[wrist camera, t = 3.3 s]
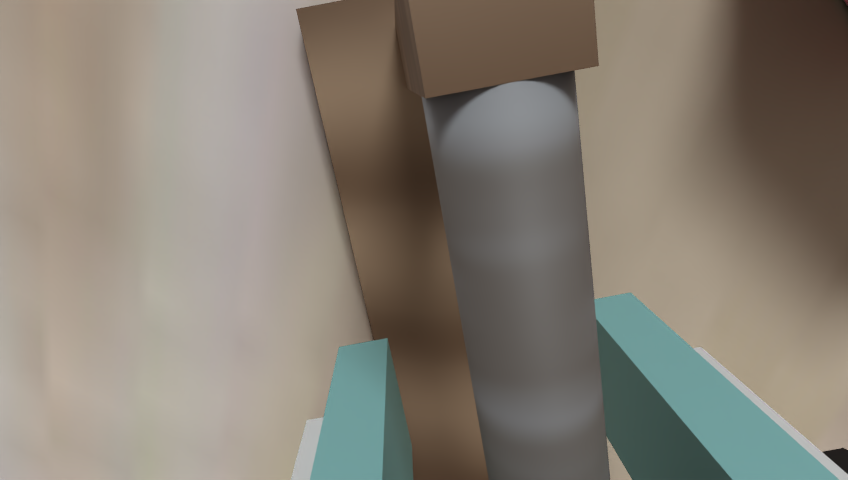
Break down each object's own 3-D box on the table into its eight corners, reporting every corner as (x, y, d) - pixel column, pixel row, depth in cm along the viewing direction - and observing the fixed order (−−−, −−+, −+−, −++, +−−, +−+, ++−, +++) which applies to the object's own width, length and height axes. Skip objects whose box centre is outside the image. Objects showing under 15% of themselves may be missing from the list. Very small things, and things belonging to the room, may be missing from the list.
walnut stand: (302, 14, 17) (64, -162, 5) (534, -31, 17) (883, -319, 5) (427, 549, 24) (458, 1030, 12) (591, 519, 24) (792, 970, 12)
